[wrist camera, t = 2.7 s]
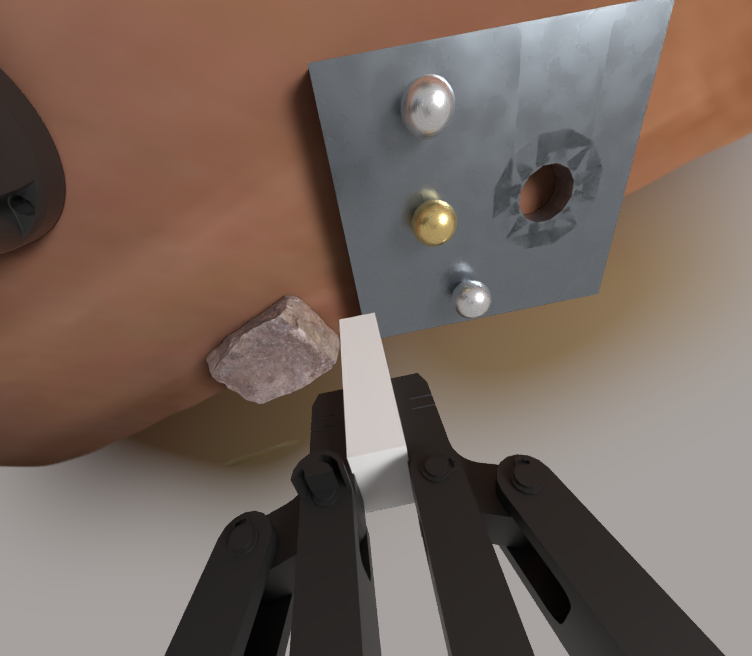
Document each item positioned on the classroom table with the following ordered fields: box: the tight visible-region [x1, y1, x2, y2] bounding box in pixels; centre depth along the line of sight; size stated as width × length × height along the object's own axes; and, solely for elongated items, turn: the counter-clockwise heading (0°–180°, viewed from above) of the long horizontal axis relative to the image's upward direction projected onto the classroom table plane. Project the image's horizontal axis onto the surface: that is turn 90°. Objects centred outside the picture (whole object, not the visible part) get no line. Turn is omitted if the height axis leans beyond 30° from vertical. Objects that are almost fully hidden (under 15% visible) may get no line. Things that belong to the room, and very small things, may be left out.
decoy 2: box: [451, 280, 491, 319], centre depth 29 cm, size 4×4×4 cm
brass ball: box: [411, 199, 457, 247], centre depth 25 cm, size 4×4×4 cm
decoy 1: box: [400, 74, 455, 140], centre depth 21 cm, size 4×4×4 cm
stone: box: [206, 295, 340, 404], centre depth 33 cm, size 9×12×5 cm
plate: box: [308, 0, 674, 338], centre depth 28 cm, size 24×22×2 cm
